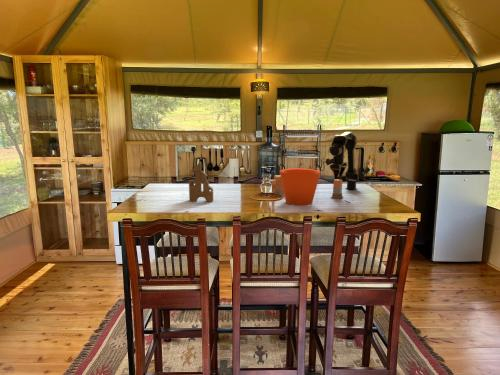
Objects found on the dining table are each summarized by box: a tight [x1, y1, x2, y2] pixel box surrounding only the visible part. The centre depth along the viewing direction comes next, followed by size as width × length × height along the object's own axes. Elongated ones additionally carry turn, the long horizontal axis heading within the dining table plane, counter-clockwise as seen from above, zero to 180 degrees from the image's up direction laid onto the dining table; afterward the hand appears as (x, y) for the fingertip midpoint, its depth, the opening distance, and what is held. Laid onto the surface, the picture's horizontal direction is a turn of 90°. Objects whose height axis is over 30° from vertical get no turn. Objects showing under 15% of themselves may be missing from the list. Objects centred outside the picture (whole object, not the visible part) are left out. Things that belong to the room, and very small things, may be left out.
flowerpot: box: [279, 167, 322, 207], centre depth 216 cm, size 25×25×20 cm
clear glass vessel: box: [261, 174, 284, 195], centre depth 246 cm, size 21×6×12 cm, turn 96°
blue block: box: [332, 186, 343, 194], centre depth 231 cm, size 4×4×4 cm
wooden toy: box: [188, 161, 214, 203], centre depth 219 cm, size 15×7×25 cm, turn 88°
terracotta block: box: [332, 178, 343, 188], centre depth 230 cm, size 4×4×4 cm
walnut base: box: [330, 193, 344, 200], centre depth 231 cm, size 6×6×3 cm
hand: (338, 178), depth 229 cm, fingers open, 9 cm apart
